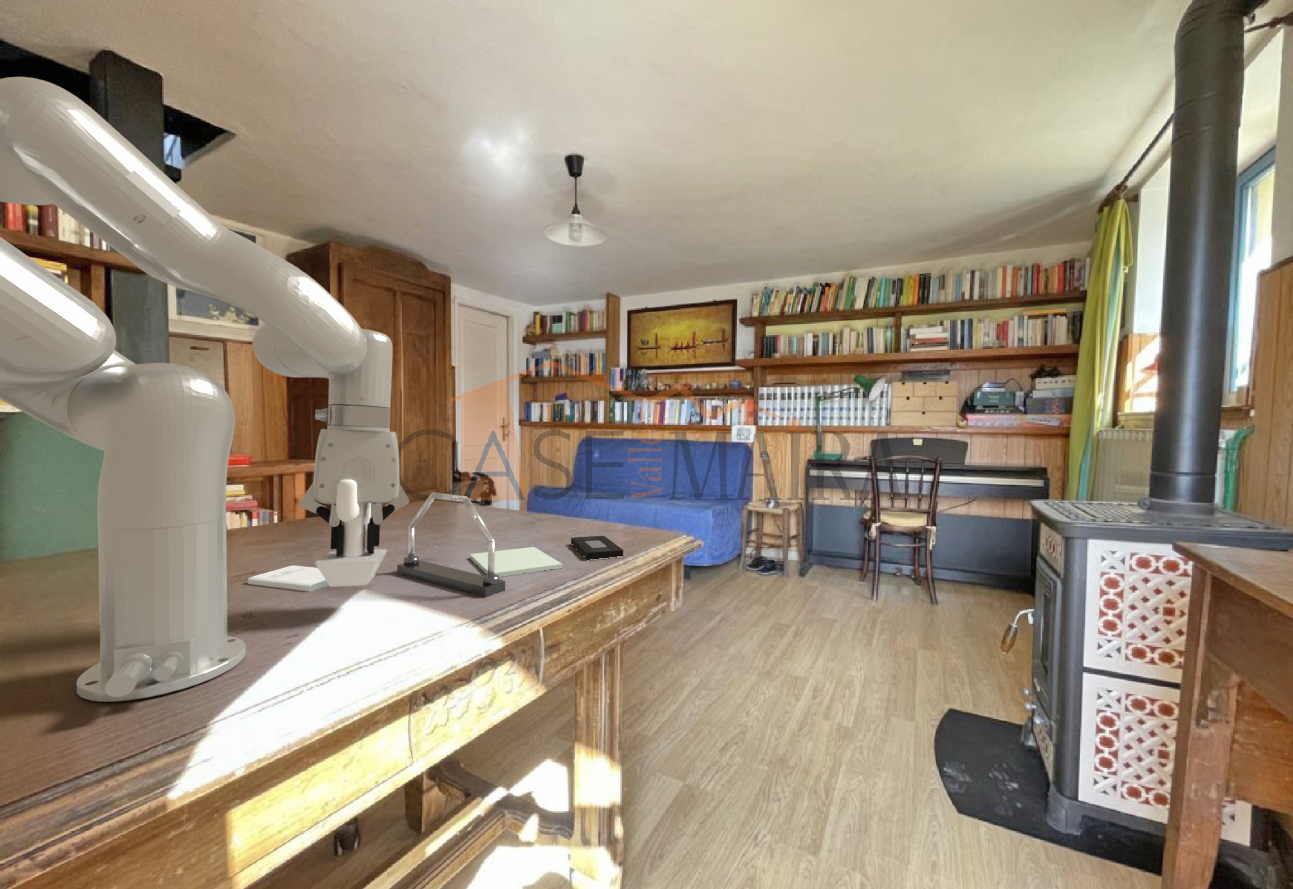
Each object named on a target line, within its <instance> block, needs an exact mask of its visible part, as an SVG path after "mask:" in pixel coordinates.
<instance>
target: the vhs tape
mask: <svg viewBox="0 0 1293 889" xmlns="http://www.w3.org/2000/svg"><path fill="white" fill-rule="evenodd" d="M571 544H573V546H574V547H575V548H576V549H577V550H578V551H579V552H580V553H581V554H582V555H583V556H585V558H586V559H587V560H589V561H591V560H590V559H599V558H609V557H617V556H623V557H624V549H623V548H621V547H620V546H619V545H618V544H616V543H614V542H613V541H612V540H611V539H609V538H608V537H606V536H605V535H593V536H590V535H589V536H578V537H577V536H576V537H571V538H570V545H571ZM573 546H572V547H573ZM574 547H573V548H574ZM575 548H574V549H575ZM576 549H575V550H576ZM577 550H576V551H577ZM578 551H577V552H578ZM579 552H578V553H579ZM580 553H579V554H580ZM581 554H580V555H581ZM582 555H581V556H582ZM583 556H582V557H583ZM585 558H584V559H585ZM586 559H585V560H586ZM587 560H586V561H587Z"/></svg>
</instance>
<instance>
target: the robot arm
mask: <svg viewBox="0 0 1293 889" xmlns="http://www.w3.org/2000/svg"><path fill="white" fill-rule="evenodd" d="M0 202H1V203H9V204H14V205H15V204H17V205H27V206H28V205H29V206H47V205H54V206H55V207H57V208H58V209H59V210H61V211H62V212H63V213H65V214H66V215H68V217H69V216H70V218H72V219H73V220H74V221H76V222H77V223H79V224H80V225H81V226H83V228H85V229H87V230H88V231H89V232H91V233H92V234H93V235H95V236H96V237H98V238H99V239H100V240H101V241H103V242H104V243H106V244H107V245H108V246H109V247H111V248H112V249H114V251H116V252H118V254H120V255H121V256H123V257H124V258H125V259H127V260H129V262H131V263H132V264H133V265H135V266H136V267H137V268H138V269H140V270H141V271H142V272H144V273H145V274H147V275H148V276H150V277H152V278H153V279H156V280H158V281H160V282H162V283H165V284H167V285H170V286H173V287H175V288H176V289H177V288H178V289H182V290H184V291H187V292H191V293H195V294H199V295H203V296H206V297H210V298H213V299H216V300H219V301H222V302H224V303H227V304H229V305H233V307H236V308H238V309H240V310H242V311H244V312H246V313H248V314H250V315H251V316H253V317H256V318H257V319H259V320H260V321H262V322H264V323H263V324H262V325H261V326H260V327H259V328H257V330H256V331H255V333H254V335H253V338H252V351H253V354H254V355H255V358H256V359H257V360H258V362H259V363H260V364H261V365H262V366H263V367H264V368H266V369H268V370H269V371H270V372H273V373H274V374H277V375H280V376H284V377H289V378H323V379H324V378H325V379H328V401H327V402H328V407H325V408H322V409H315V412H314V413H315V414H314V420H319V421H321V422H324V423H327V425H326V426H327V429H326V428H321V429H320V431H319V435H318V439H317V444H316V451H315V457H314V458H315V459H314V467H313V468H314V470H313V471H314V472H313V482H312V483H311V485H309V488H308V489H307V490H306V492H305V493H304V495H303V496H302V498H301V500H300V501H299V504H298V505H299V507H300V508H302V509H304V510H307V511H309V512H311V513H314V514H316V515H318V516H319V517H320V518H321V519H322V520H324V521H325V522H326V523H327V524H328V525H329V526H330V527H331V528H330V530H331V531H330V550H336V555H337V556H341V555H343V535H344V526H343V521H341V520H340V519H339V518H338V516H337V512H336V495H337V483H338V482H339V481H341V480H345V479H349V480H354V481H355V482H356V483H357V503H370V504H371V518H370V522H369V523H368V524H367V531H366V549H367V552H368V553H369V554H374V549H375V547H380V537H381V536H380V535H381V534H380V533H381V532H380V530H381V524H382V523H383V522H384V521H385V520H386V519H387V518H388V517H389V516H390V515H391V514H393V512H395V511H397V510H399V509H401V508H403V507H405V506H407V505H408V504H409V503H410V499H409V497H408V495H407V494H406V492H405V490H404V488H403V487H402V485H401V483H400V452H399V442H398V436H397V432H396V431H391V428H390V427H391V402H392V401H391V400H392V399H391V398H392V376H393V374H392V373H393V342H392V340H391V338H390V337H389V336H388V335H387V334H385V333H382V332H380V331H376V330H372V329H366V328H365V329H364V328H361V326H360V324H359V322H357V320H356V319H355V318H354V316H353V315H352V314H351V313H350V312H349V311H348V310H347V309H346V308H345V307H344V306H343V305H342V304H341V303H340V302H339V301H338V300H337V299H336V298H335V297H333V295H332V294H330V293H329V291H327V290H326V289H325V288H324V287H323V286H322V285H321V284H320V283H318V282H317V281H316V280H315V279H314V278H312V277H311V276H310V275H309V274H307V273H306V272H304V271H303V270H301V269H300V268H299V267H297V266H295V265H294V264H293V263H291V262H289V261H288V260H285V259H284V258H282V257H280V256H278V255H276V254H275V253H273V252H271V251H269V250H268V249H266V248H264V247H262V246H260V245H259V244H258V243H255V242H254V241H252V240H250V239H248V238H246V237H244V236H242V235H240V234H239V233H236V232H235V231H233V230H231V229H229V228H227V227H226V226H225V225H223V224H222V223H221V222H219V221H218V220H217V219H216V218H214V216H212V215H211V214H210V213H209V212H208V211H207V210H206V209H205V208H203V207H202V206H201V205H200V204H199V203H198V202H197V201H196V200H194V198H192V197H191V196H190V195H189V194H188V193H186V192H185V191H184V190H183V189H182V188H181V187H180V186H178V185H177V183H175V182H174V181H173V180H172V179H171V178H170V177H169V176H168V175H167V174H165V173H164V172H163V171H162V170H161V169H160V168H159V167H157V166H156V165H155V164H154V162H152V161H151V160H150V159H149V158H148V157H146V155H144V154H143V152H141V151H140V150H139V149H138V148H137V147H136V146H134V144H132V143H131V141H129V140H128V139H127V138H125V137H124V135H122V134H121V133H120V132H119V131H117V130H116V129H115V128H114V127H113V126H112V125H111V124H110V123H109V122H108V121H106V119H104V118H103V116H101V115H100V114H99V113H98V112H96V111H95V110H94V109H93V108H92V107H91V106H89V105H88V104H86V103H85V102H84V101H83V100H82V99H80V98H79V97H78V96H76V95H74V94H73V93H72V92H70V91H68V90H66V89H65V88H62V87H61V86H59V85H57V84H55V83H52V82H49V81H46V80H43V79H38V78H36V77H35V78H34V77H26V76H13V77H12V76H11V77H10V76H9V77H4V78H0ZM116 344H117V336H116V330H115V328H114V326H113V324H112V322H111V320H110V318H109V317H108V316H107V315H106V313H105V312H104V311H103V310H102V309H101V308H100V307H99V306H98V305H97V304H96V303H95V302H93V301H92V300H91V299H89V298H88V297H87V296H86V295H84V294H82V293H81V292H79V291H78V290H77V289H75V288H74V287H72V286H70V285H69V284H68V283H67V282H65V281H64V280H62V279H60V278H59V277H58V276H56V275H55V274H54V273H52V272H51V271H49V270H48V269H46V268H45V267H44V266H42V265H40V263H38V262H36V261H35V260H34V259H32V258H31V257H29V256H28V255H26V254H25V253H24V252H23V251H21V250H20V249H18V248H17V247H15V245H12V243H9V241H7V240H5V239H4V238H3V237H2V236H0V401H2V402H4V403H6V404H7V405H10V406H12V407H13V408H16V409H17V410H18V411H21V412H22V413H24V414H26V415H29V416H30V417H32V418H33V419H36V420H38V421H40V422H41V423H43V424H45V425H47V426H49V427H50V428H53V429H55V430H56V431H58V432H60V433H63V434H64V435H67V436H68V437H70V438H72V439H74V440H76V441H77V442H80V443H82V444H85V445H87V446H89V447H91V448H94V449H97V450H100V451H104V453H103V459H102V465H101V468H100V473H99V474H100V475H99V480H98V489H97V506H96V507H97V508H96V509H97V510H96V511H97V513H96V515H97V522H96V523H97V534H98V537H97V538H98V540H97V542H98V547H97V548H98V583H99V584H98V594H99V595H98V596H99V599H98V600H99V601H98V602H99V603H98V604H99V606H98V608H99V651H100V652H99V654H100V655H99V660H100V662H98V663H96V664H94V665H92V666H90V667H89V668H88V669H87V670H85V671H83V673H81V675H80V676H79V677H78V678H77V680H76V694H77V695H78V696H79V697H80V698H83V699H85V700H88V701H92V702H107V703H108V702H110V703H111V702H114V703H115V702H125V701H127V702H128V701H133V700H140V699H145V698H151V697H155V696H160V695H161V696H162V695H165V694H169V693H173V692H177V691H180V690H181V691H182V690H184V689H187V688H191V687H192V686H196V685H199V684H201V683H204V682H207V681H210V680H211V679H214V678H216V677H219V676H221V675H223V674H224V673H226V672H228V671H229V670H231V669H233V668H234V667H236V666H237V665H238V664H240V663H241V661H242V660H243V659H244V658H245V656H246V652H247V650H246V642H244V640H242V639H240V638H238V637H235V636H232V635H231V636H230V635H228V585H227V584H228V583H227V582H228V581H227V580H228V579H227V578H228V571H227V570H228V569H227V564H228V563H227V558H228V556H227V478H228V468H229V462H230V461H229V460H230V456H231V455H230V454H231V449H232V445H233V440H234V436H235V435H234V432H235V425H236V416H235V414H236V413H235V409H234V406H233V402H232V400H231V398H230V396H229V394H228V391H227V390H226V389H225V388H224V387H223V386H222V385H221V383H219V382H218V381H217V380H216V379H215V378H214V377H212V376H210V375H209V374H207V373H205V372H203V371H201V370H200V369H198V368H197V369H196V368H194V367H191V366H187V365H184V364H177V363H169V362H153V363H152V362H151V363H150V362H149V363H138V364H137V363H135V362H133V361H132V360H130V359H129V358H127V357H126V356H125V355H123V354H121V353H120V352H118V351H117V350H115V349H116ZM320 503H321V504H320ZM384 503H386V504H384ZM323 504H325V505H323ZM382 504H384V505H382ZM326 505H330V509H329V508H328V507H327V506H326Z"/></svg>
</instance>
